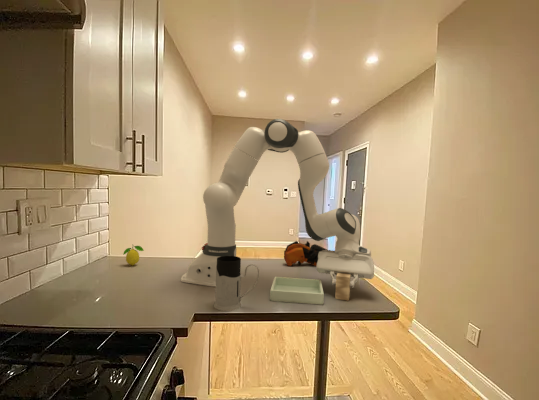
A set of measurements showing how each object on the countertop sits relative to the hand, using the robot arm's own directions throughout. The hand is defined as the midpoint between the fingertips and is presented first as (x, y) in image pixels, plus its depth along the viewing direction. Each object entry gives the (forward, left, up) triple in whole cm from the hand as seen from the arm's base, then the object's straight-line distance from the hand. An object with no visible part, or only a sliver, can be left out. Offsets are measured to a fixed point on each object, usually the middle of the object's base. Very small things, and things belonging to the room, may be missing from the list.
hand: (342, 285), depth 104 cm
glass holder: (-35, -13, -5) cm, 38 cm away
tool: (-11, +43, -5) cm, 44 cm away
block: (0, +1, -4) cm, 4 cm away
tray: (-16, +1, -4) cm, 16 cm away
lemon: (-91, +23, -5) cm, 94 cm away
